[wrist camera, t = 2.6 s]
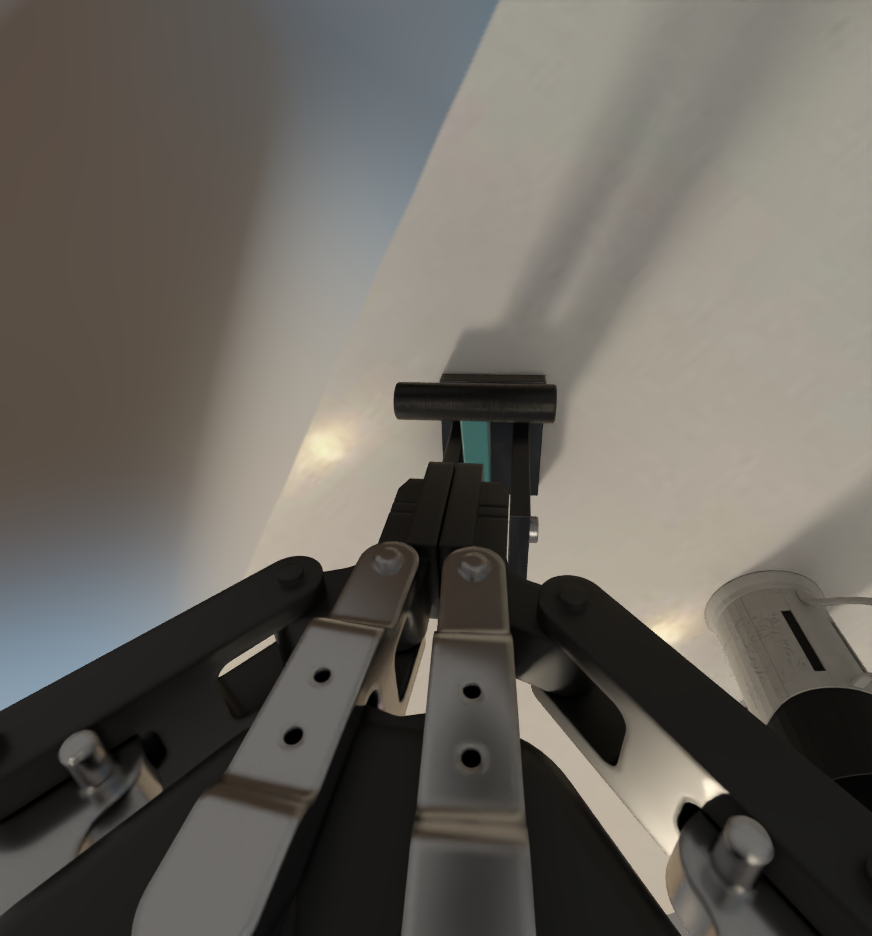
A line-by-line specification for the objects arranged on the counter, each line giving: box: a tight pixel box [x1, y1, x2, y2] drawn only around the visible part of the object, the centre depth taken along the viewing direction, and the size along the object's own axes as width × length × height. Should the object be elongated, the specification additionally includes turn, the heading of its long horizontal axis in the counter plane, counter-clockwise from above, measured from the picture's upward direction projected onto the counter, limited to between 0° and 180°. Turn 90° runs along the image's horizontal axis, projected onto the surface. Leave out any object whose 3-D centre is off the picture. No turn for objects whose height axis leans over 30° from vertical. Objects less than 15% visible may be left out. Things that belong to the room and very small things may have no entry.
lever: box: [394, 382, 557, 482], centre depth 24 cm, size 12×6×2 cm, turn 3°
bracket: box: [440, 374, 546, 579], centre depth 31 cm, size 9×7×13 cm
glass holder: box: [705, 571, 872, 812], centre depth 34 cm, size 9×14×15 cm, turn 171°
